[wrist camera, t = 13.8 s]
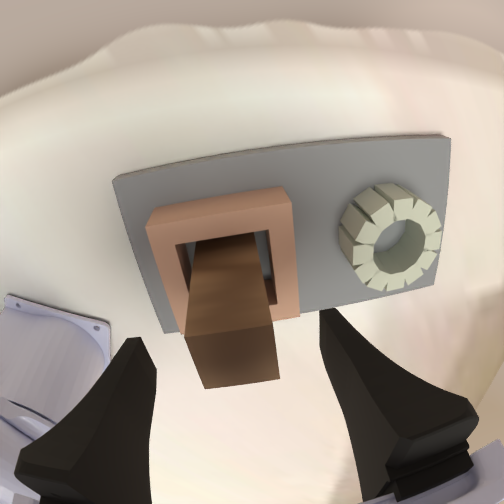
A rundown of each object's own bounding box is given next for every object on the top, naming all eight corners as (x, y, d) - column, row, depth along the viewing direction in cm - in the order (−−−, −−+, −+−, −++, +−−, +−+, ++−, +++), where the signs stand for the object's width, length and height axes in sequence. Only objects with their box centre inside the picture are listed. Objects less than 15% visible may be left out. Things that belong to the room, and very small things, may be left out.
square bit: (208, 283, 20) (204, 389, 13) (196, 237, 18) (184, 337, 11) (260, 274, 20) (280, 378, 13) (252, 227, 18) (272, 324, 11)
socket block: (165, 324, 22) (159, 359, 19) (117, 176, 17) (96, 196, 14) (427, 277, 23) (450, 304, 20) (442, 135, 17) (475, 148, 14)
